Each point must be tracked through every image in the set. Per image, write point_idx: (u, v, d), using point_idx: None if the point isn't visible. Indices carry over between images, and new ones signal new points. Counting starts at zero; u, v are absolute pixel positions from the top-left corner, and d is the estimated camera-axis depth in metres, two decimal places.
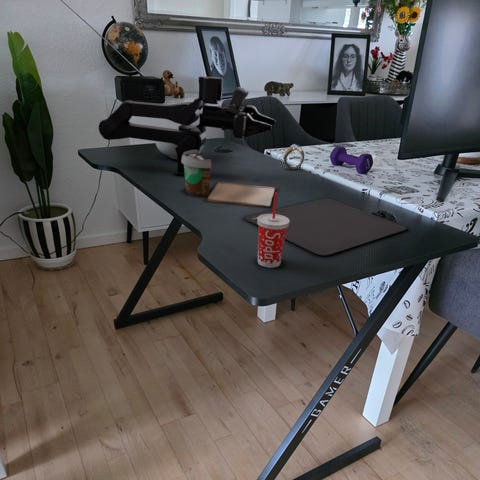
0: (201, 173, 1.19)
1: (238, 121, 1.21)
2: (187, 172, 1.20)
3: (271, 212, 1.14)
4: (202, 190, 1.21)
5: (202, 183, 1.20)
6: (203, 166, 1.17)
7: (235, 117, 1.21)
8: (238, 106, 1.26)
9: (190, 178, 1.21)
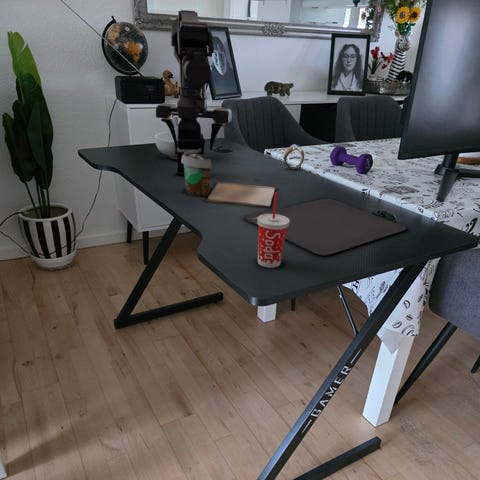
0: (201, 173, 1.19)
1: None
2: (187, 172, 1.20)
3: (271, 212, 1.14)
4: (202, 190, 1.21)
5: (202, 183, 1.20)
6: (203, 166, 1.17)
7: (156, 107, 1.13)
8: None
9: (190, 178, 1.21)
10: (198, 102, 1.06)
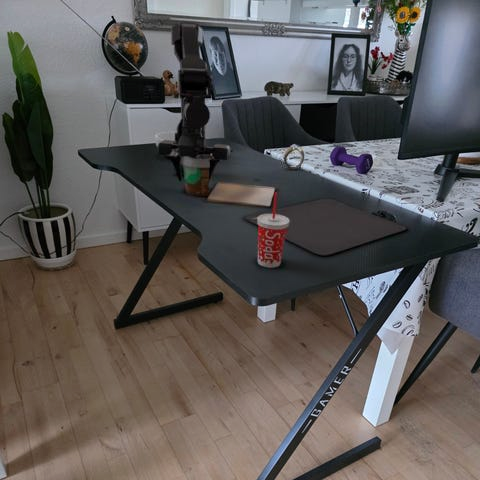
0: (200, 173, 1.18)
1: None
2: (186, 172, 1.20)
3: (271, 212, 1.14)
4: (202, 190, 1.21)
5: (201, 183, 1.20)
6: (201, 166, 1.17)
7: (158, 144, 1.18)
8: None
9: (189, 178, 1.21)
10: (198, 141, 1.11)
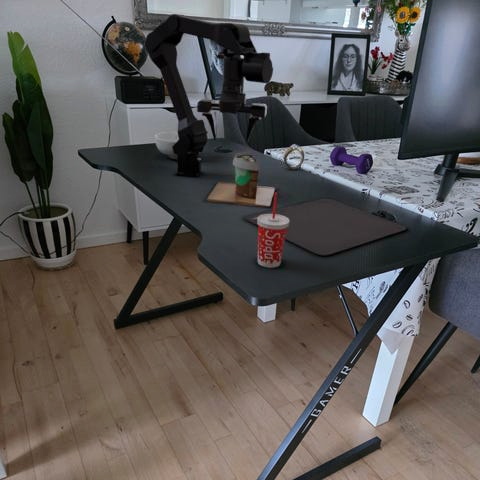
0: (249, 175, 1.18)
1: None
2: (237, 173, 1.20)
3: (271, 212, 1.14)
4: (249, 192, 1.21)
5: (249, 185, 1.20)
6: (251, 168, 1.16)
7: (198, 102, 1.22)
8: None
9: (238, 179, 1.21)
10: (239, 97, 1.15)
